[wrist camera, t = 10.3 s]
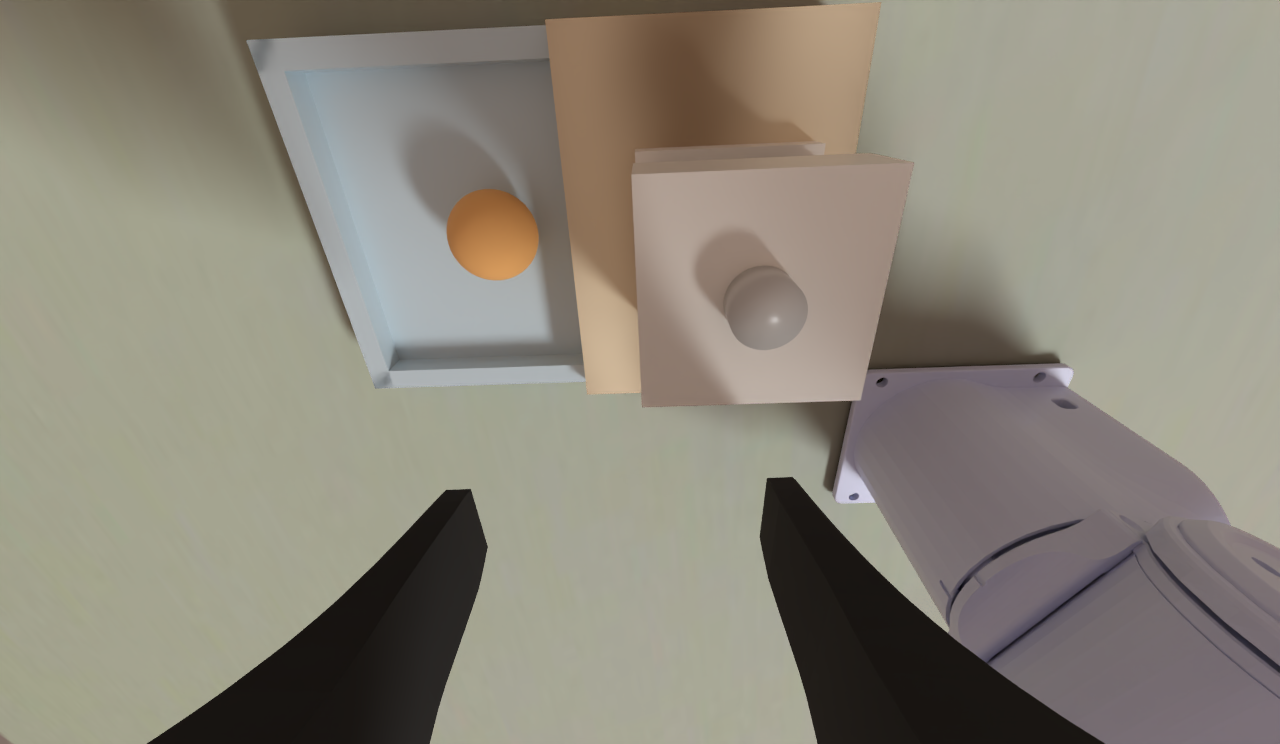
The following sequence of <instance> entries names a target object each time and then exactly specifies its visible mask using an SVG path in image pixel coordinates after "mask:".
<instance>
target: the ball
mask: <svg viewBox="0 0 1280 744" xmlns="http://www.w3.org/2000/svg"><path fill="white" fill-rule="evenodd" d="M446 233H447V240H448V244H449V247H450V250H451V252H452V254H453V256H454V257H455V259H456V260H457V261H458V262H459V264H460V265H461V266H462V267H463V268H465V269H466V270H467V271H468V272H470V273H471V274H473V275H475V276H478V277H480V278H483V279H487V280H506V279H510V278H513V277H515V276H517V275H519V274H520V273H522V272H523V271H524V270H525V269H526V268H527V267H528V266H529V265H530V264H531V262H532V261H533V259H534V257H535V255H536V252H537V249H538V242H539V234H538V228H537V224H536V222H535V219H534V217H533V215H532V213H531V212H530V210H529V209H528V208H527V207H526V205H525V204H524V203H523V202H522V201H520V200H519V199H518V198H516V197H515V196H513V195H511V194H509V193H507V192H504V191H501V190H497V189H481V190H477V191H474V192H471V193H469V194H467V195H465V196H464V197H463V198H461V199H460V200H459V201H458V202H457V203H456V205H455V206H454V207H453V209H452V211H451V212H450V215H449V218H448V221H447V232H446Z"/></svg>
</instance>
